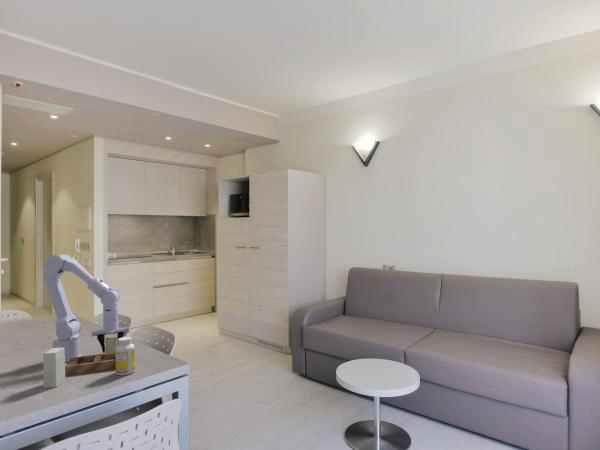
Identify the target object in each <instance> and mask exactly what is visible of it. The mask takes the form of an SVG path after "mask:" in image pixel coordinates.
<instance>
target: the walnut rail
mask: <svg viewBox="0 0 600 450" xmlns="http://www.w3.org/2000/svg"><path fill="white" fill-rule="evenodd" d="M66 363H67V364H65V377H66V376H67V377H68V376H75V375H82V374H89V373H94V372H96V373H97V372H102V371H109V370H110V371H111V370H116V358H115V352H114V353H106V354H105V353H100V354H98V353H97V354H90V355H83V356H82V355H81V357H73V358H70V360H69V362H66Z"/></svg>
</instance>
